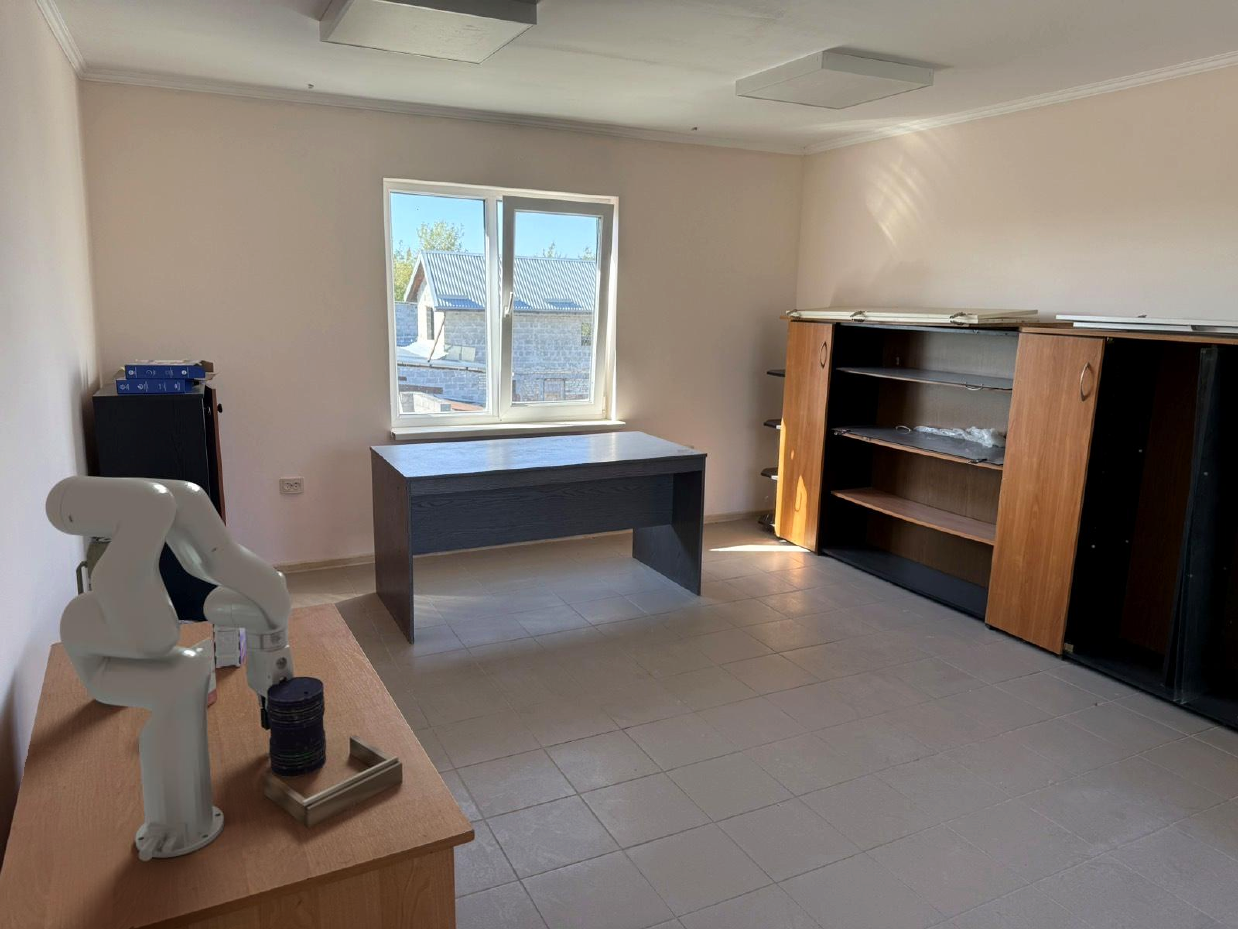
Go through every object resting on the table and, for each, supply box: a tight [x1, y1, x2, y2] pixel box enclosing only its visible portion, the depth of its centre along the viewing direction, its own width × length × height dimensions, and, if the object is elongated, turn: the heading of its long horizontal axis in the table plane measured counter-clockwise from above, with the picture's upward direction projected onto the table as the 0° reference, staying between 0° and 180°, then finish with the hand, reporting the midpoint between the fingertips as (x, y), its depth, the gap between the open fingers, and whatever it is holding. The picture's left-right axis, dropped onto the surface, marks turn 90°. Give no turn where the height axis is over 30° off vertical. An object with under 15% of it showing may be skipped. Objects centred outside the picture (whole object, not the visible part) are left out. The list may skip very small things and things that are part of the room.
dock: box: [262, 734, 403, 829], centre depth 145 cm, size 15×18×4 cm
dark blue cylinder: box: [267, 676, 327, 778], centre depth 151 cm, size 10×10×15 cm
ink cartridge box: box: [189, 636, 218, 708], centre depth 170 cm, size 9×5×15 cm, turn 168°
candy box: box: [212, 585, 247, 669], centre depth 195 cm, size 14×6×16 cm, turn 17°
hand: (271, 726), depth 157 cm, fingers closed
